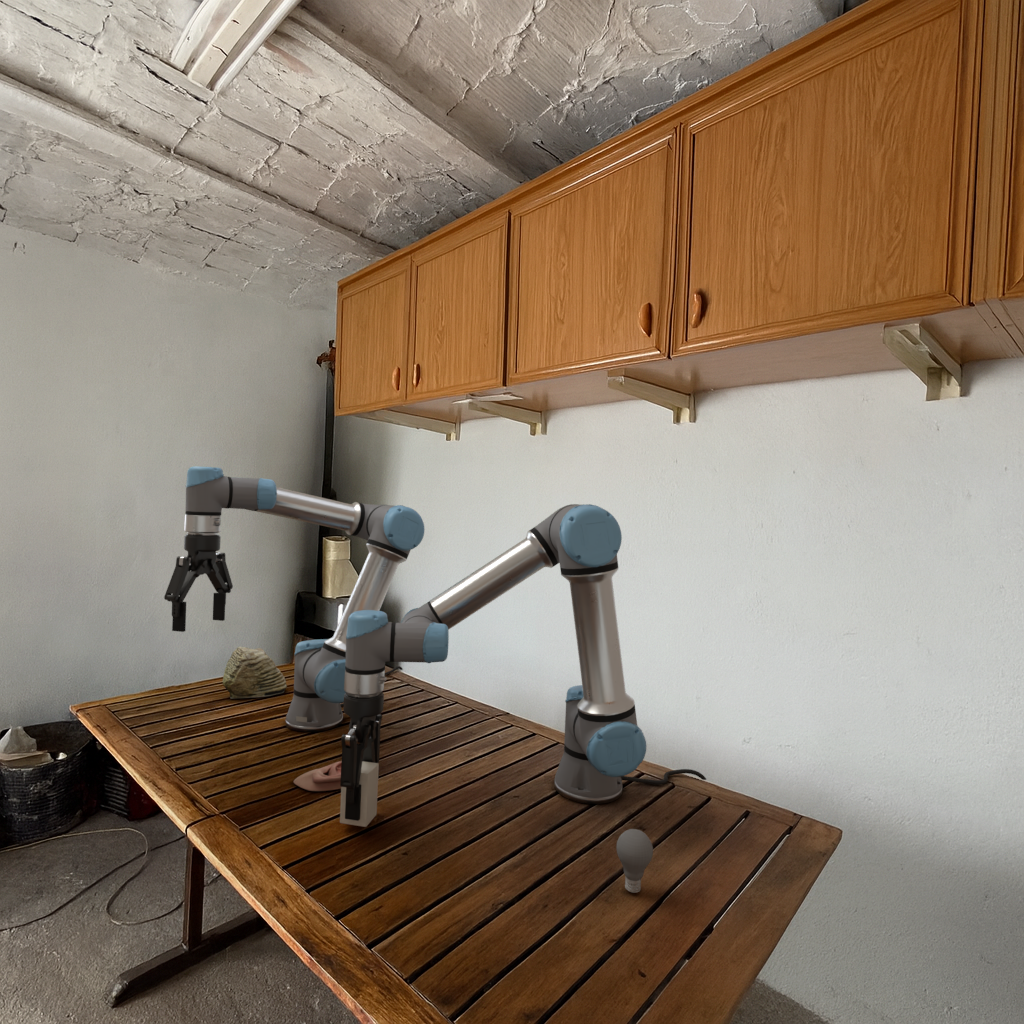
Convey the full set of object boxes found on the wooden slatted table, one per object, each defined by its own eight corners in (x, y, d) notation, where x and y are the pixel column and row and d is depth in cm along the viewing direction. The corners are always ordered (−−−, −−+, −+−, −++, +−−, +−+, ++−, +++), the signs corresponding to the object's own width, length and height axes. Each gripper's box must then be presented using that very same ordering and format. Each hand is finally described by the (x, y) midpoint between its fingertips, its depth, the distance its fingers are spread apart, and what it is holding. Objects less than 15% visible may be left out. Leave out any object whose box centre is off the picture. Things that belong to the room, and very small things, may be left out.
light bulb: (610, 879, 108) (613, 822, 108) (644, 879, 109) (647, 822, 109) (619, 902, 102) (622, 840, 102) (655, 901, 103) (658, 840, 103)
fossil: (218, 695, 195) (220, 647, 195) (278, 685, 208) (279, 640, 207) (228, 703, 189) (230, 653, 188) (289, 692, 201) (290, 645, 201)
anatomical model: (286, 769, 137) (313, 749, 148) (285, 787, 137) (312, 766, 148) (343, 777, 134) (366, 756, 145) (342, 796, 134) (365, 773, 145)
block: (339, 823, 120) (341, 770, 120) (351, 810, 125) (353, 759, 125) (366, 827, 119) (368, 773, 119) (376, 814, 124) (378, 763, 124)
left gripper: (178, 537, 133) (175, 637, 133) (249, 532, 157) (246, 617, 158) (147, 535, 134) (144, 634, 135) (222, 530, 159) (219, 614, 159)
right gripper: (362, 708, 112) (356, 838, 113) (399, 681, 130) (394, 793, 130) (323, 704, 114) (318, 832, 114) (365, 677, 131) (360, 788, 132)
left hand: (199, 625), depth 146 cm, fingers open, 13 cm apart
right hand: (358, 811), depth 122 cm, fingers closed on block, 5 cm apart
